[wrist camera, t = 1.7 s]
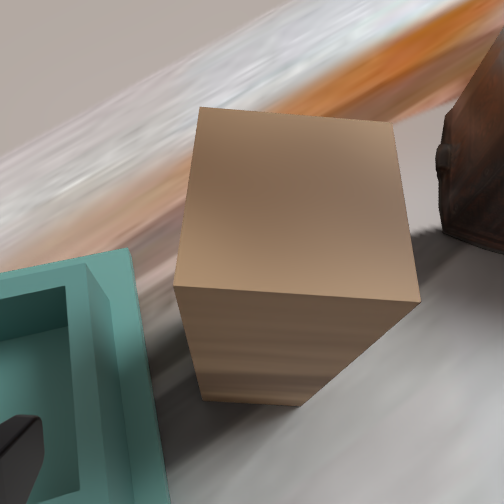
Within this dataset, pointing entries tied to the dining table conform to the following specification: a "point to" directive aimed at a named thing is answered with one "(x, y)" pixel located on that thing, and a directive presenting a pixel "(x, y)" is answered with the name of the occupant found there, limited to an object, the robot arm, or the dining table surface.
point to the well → (82, 379)
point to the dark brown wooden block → (475, 158)
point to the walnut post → (289, 251)
